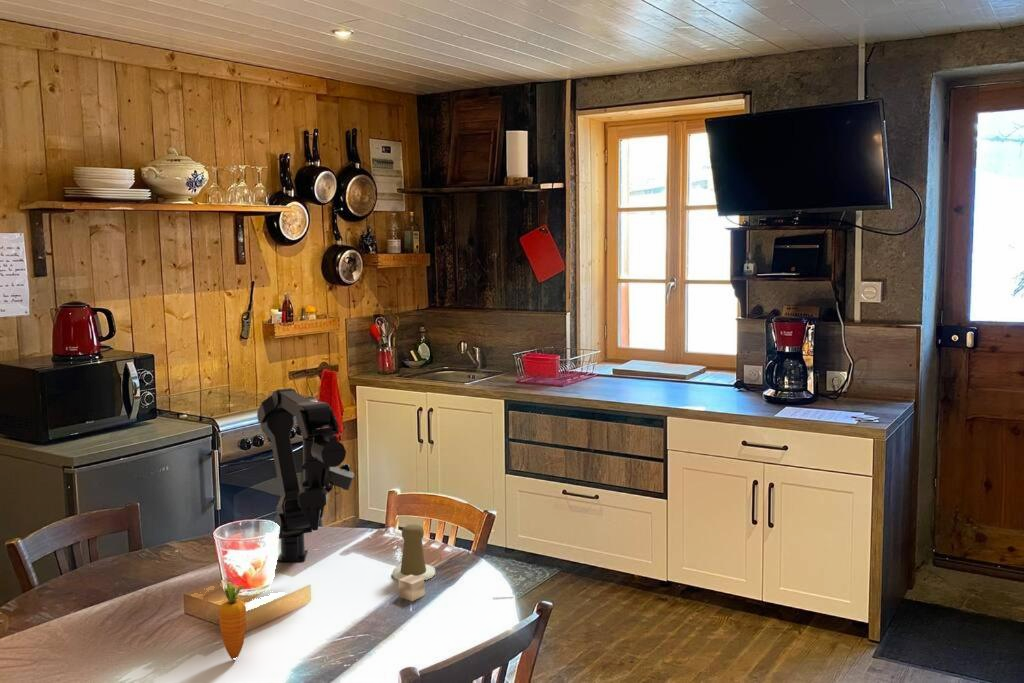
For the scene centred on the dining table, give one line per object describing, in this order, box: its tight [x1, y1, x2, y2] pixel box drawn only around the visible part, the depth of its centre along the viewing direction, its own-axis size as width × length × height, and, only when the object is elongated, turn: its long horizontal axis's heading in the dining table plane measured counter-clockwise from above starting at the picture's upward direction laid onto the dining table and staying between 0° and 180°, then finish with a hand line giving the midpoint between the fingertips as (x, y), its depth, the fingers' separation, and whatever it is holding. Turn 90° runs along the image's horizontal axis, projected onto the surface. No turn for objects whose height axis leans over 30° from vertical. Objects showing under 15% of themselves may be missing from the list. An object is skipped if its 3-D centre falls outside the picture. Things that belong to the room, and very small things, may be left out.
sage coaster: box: [392, 563, 436, 582], centre depth 211 cm, size 10×10×1 cm
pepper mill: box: [400, 523, 426, 576], centre depth 210 cm, size 6×6×11 cm
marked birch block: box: [398, 575, 426, 602], centre depth 198 cm, size 4×4×4 cm
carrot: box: [218, 582, 247, 659], centre depth 168 cm, size 5×5×15 cm
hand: (317, 523), depth 208 cm, fingers open, 9 cm apart
